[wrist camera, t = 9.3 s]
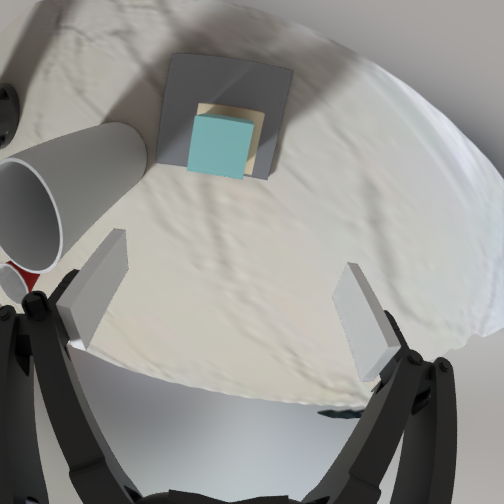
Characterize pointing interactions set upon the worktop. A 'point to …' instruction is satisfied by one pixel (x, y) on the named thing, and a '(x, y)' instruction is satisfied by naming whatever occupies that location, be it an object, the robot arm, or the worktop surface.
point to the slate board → (220, 102)
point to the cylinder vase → (64, 190)
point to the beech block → (243, 114)
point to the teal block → (220, 145)
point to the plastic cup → (16, 281)
